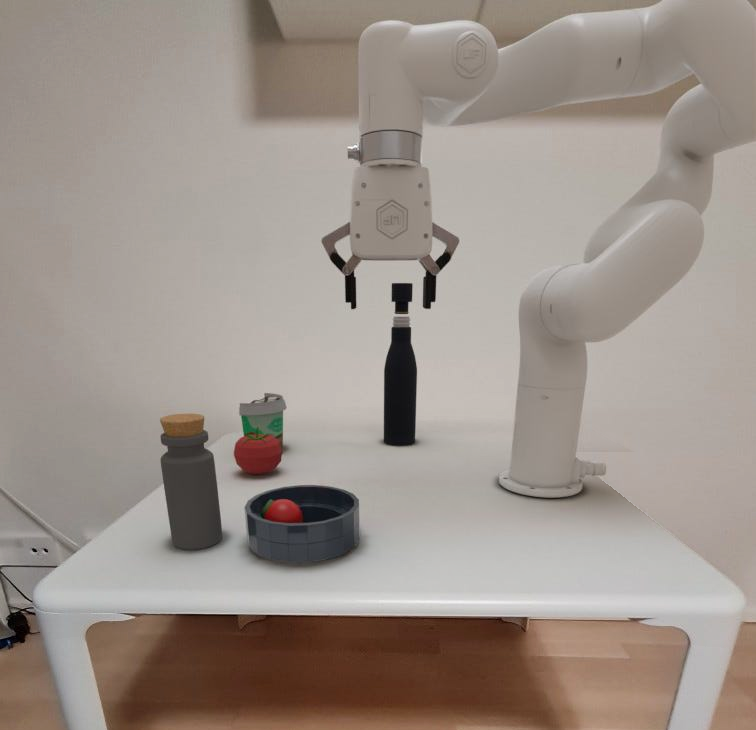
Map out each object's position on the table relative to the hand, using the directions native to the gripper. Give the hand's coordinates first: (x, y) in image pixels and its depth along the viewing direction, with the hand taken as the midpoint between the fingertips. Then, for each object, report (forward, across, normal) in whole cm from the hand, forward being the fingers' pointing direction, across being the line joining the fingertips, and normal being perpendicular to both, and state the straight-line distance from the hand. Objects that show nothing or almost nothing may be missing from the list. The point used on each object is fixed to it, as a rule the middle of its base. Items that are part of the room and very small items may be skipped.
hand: (390, 308), depth 71 cm
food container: (+26, -21, +26) cm, 43 cm away
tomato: (+26, -21, +12) cm, 36 cm away
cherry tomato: (+24, -12, -16) cm, 31 cm away
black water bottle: (+26, +4, +32) cm, 42 cm away
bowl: (+26, -11, -16) cm, 33 cm away
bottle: (+26, -24, -15) cm, 39 cm away
